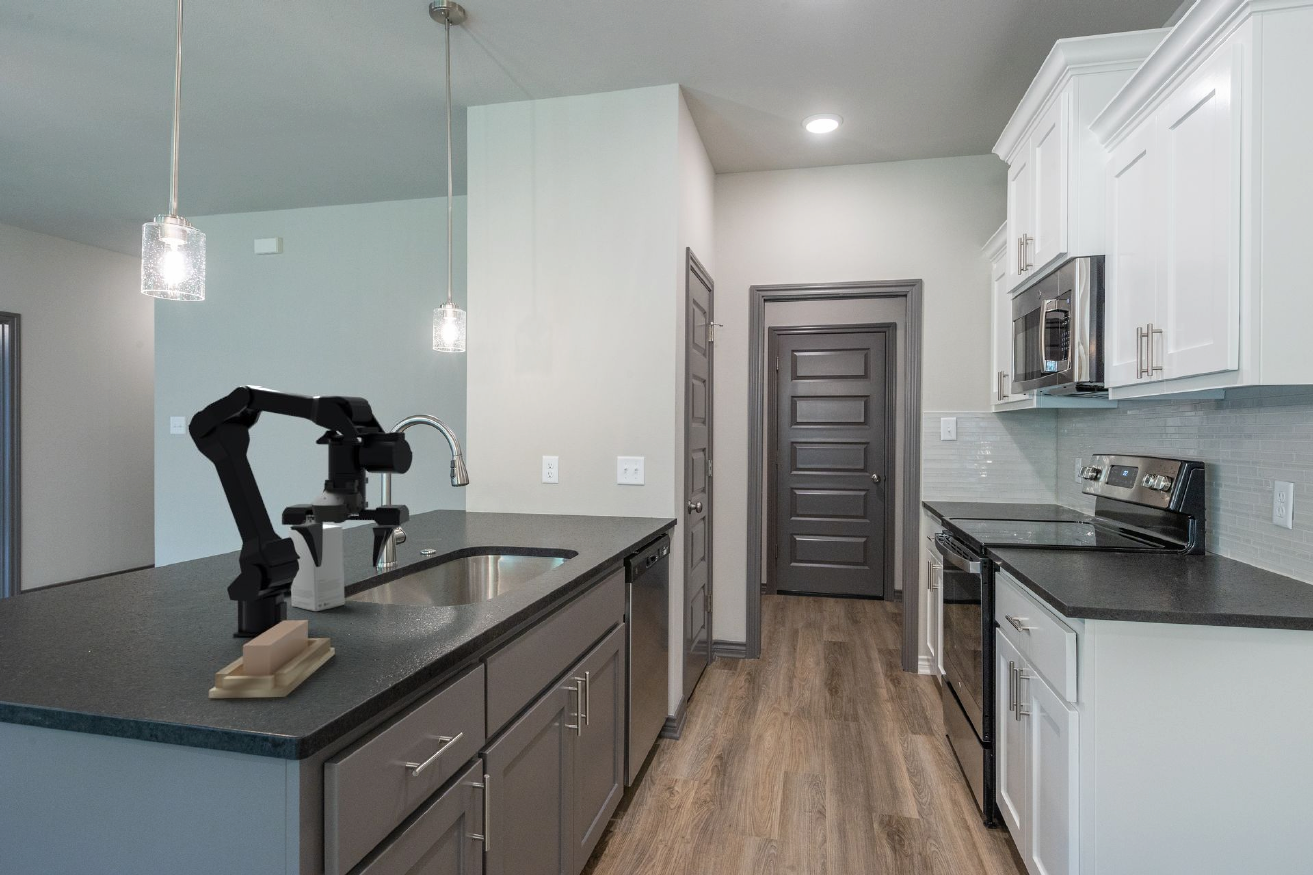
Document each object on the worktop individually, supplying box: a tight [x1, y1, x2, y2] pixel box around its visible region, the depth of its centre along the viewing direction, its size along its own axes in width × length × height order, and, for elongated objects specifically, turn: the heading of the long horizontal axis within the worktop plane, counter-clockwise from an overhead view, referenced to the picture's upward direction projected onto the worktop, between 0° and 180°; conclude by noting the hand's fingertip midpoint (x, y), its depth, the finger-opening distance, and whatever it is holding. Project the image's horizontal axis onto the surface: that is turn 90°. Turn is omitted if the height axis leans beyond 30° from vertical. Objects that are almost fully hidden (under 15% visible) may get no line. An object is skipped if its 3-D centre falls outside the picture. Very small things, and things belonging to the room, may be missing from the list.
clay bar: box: [242, 619, 309, 676], centre depth 100 cm, size 4×12×5 cm, turn 4°
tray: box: [208, 637, 336, 699], centre depth 100 cm, size 10×17×3 cm, turn 4°
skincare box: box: [288, 523, 346, 612], centre depth 137 cm, size 8×7×16 cm
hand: (346, 566), depth 116 cm, fingers open, 9 cm apart
